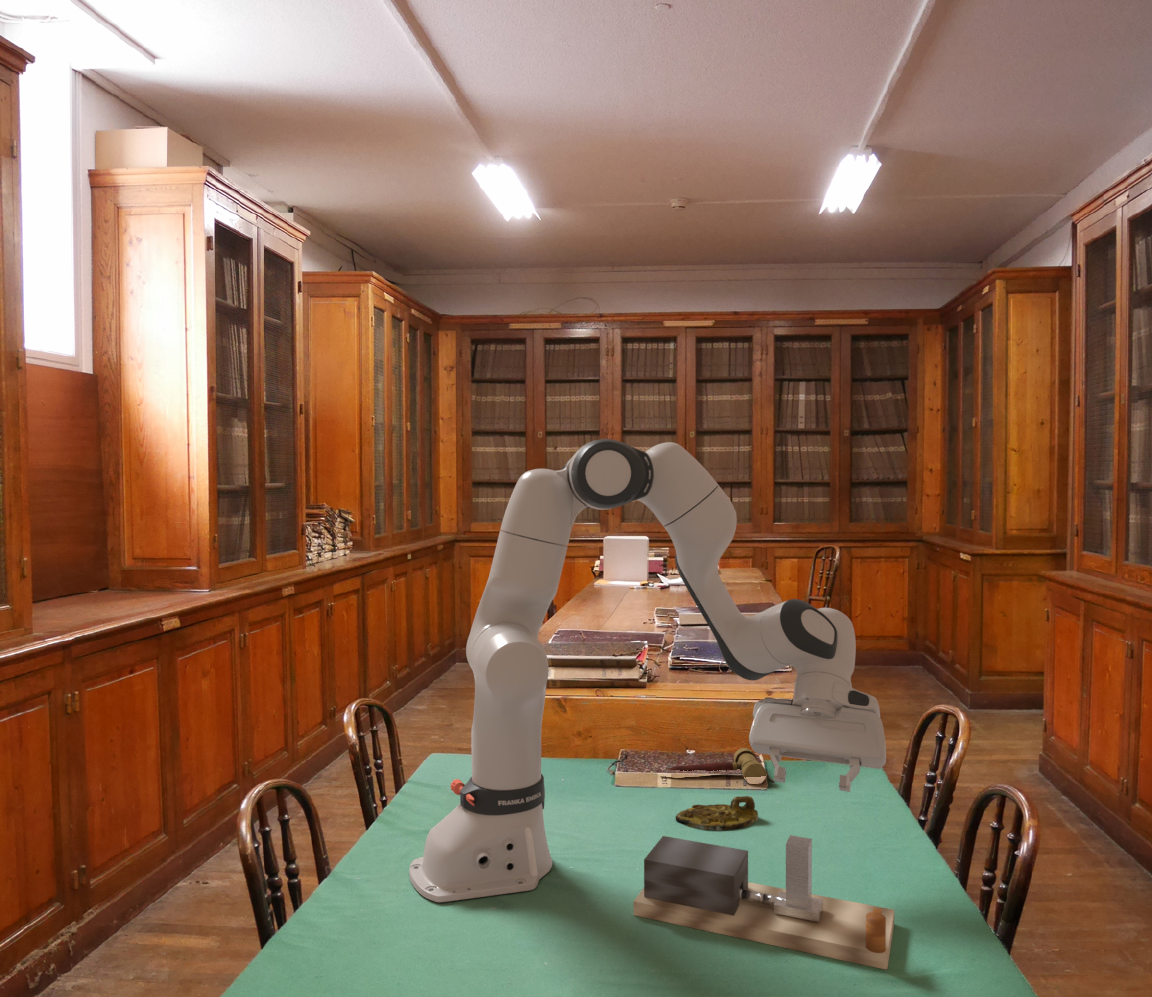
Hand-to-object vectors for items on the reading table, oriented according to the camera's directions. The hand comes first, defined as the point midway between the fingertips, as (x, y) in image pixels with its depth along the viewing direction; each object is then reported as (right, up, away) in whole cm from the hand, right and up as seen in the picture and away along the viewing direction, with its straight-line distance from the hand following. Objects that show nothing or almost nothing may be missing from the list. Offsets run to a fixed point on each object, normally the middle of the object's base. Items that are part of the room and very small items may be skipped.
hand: (811, 784), depth 130 cm
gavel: (-8, -15, +49) cm, 52 cm away
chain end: (-12, -14, -6) cm, 19 cm away
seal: (-10, -16, +27) cm, 33 cm away
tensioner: (-9, -16, -7) cm, 20 cm away
